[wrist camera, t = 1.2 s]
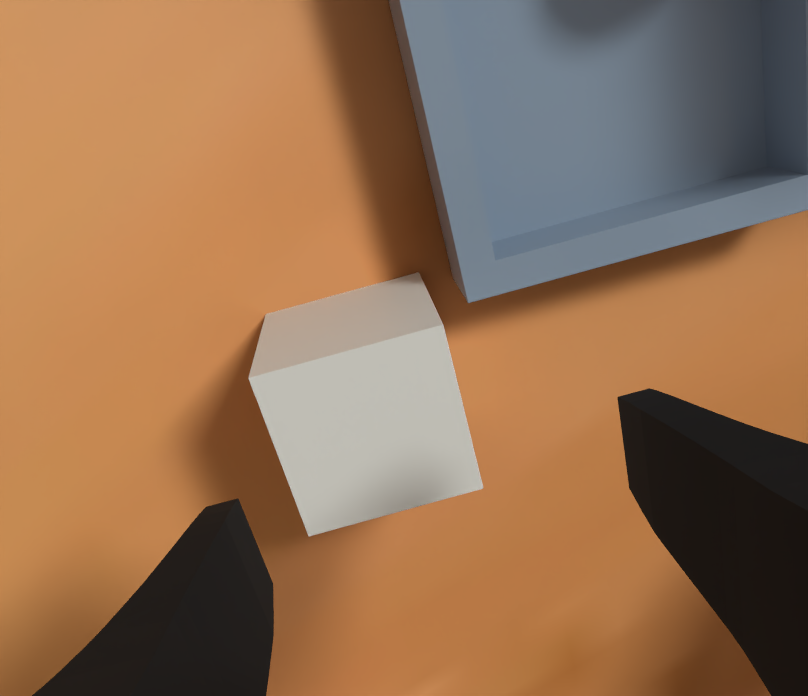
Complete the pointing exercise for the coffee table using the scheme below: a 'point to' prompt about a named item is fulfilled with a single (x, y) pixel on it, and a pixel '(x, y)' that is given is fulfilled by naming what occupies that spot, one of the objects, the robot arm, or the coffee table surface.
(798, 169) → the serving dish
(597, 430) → the coffee table surface
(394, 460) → the feta cube
